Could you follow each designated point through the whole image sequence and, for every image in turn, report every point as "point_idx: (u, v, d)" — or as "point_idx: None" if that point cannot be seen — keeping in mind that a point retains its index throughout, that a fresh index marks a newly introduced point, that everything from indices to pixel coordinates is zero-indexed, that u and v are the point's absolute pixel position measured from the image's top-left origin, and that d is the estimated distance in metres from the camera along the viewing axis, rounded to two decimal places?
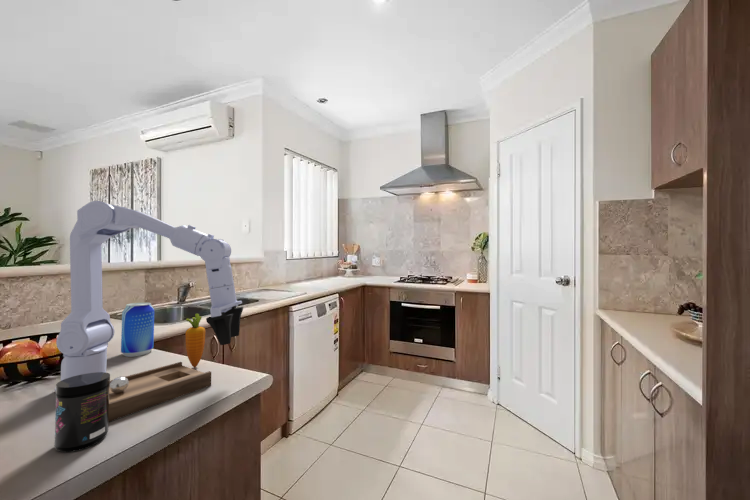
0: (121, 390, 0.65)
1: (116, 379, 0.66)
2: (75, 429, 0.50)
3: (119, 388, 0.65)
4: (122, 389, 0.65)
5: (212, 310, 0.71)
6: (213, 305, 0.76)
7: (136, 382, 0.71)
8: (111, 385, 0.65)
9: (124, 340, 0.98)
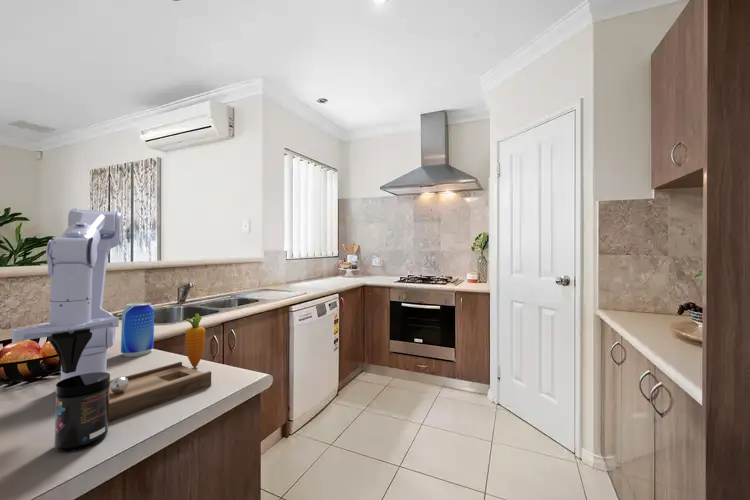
0: (121, 390, 0.65)
1: (116, 379, 0.66)
2: (75, 429, 0.50)
3: (119, 388, 0.65)
4: (122, 389, 0.65)
5: (12, 332, 0.54)
6: None
7: (136, 382, 0.71)
8: (111, 385, 0.65)
9: (124, 340, 0.98)
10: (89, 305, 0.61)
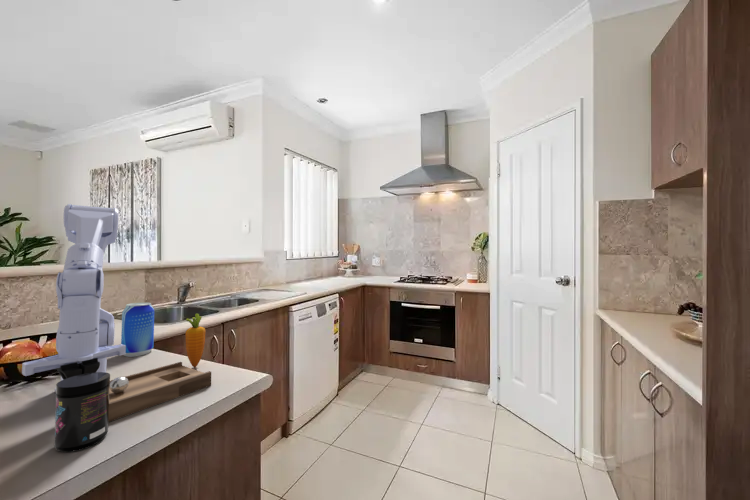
0: (121, 390, 0.65)
1: (116, 379, 0.66)
2: (76, 429, 0.50)
3: (119, 388, 0.65)
4: (122, 389, 0.65)
5: (22, 365, 0.55)
6: None
7: (136, 382, 0.71)
8: (111, 385, 0.65)
9: (124, 340, 0.98)
10: (97, 335, 0.62)
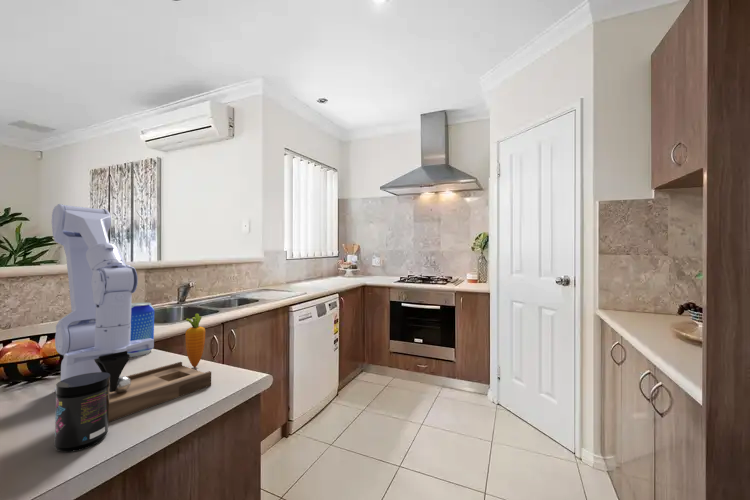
0: (122, 390, 0.66)
1: (120, 378, 0.66)
2: (76, 429, 0.50)
3: (121, 388, 0.65)
4: (123, 389, 0.66)
5: (64, 356, 0.59)
6: None
7: (136, 382, 0.71)
8: None
9: None
10: (129, 329, 0.66)
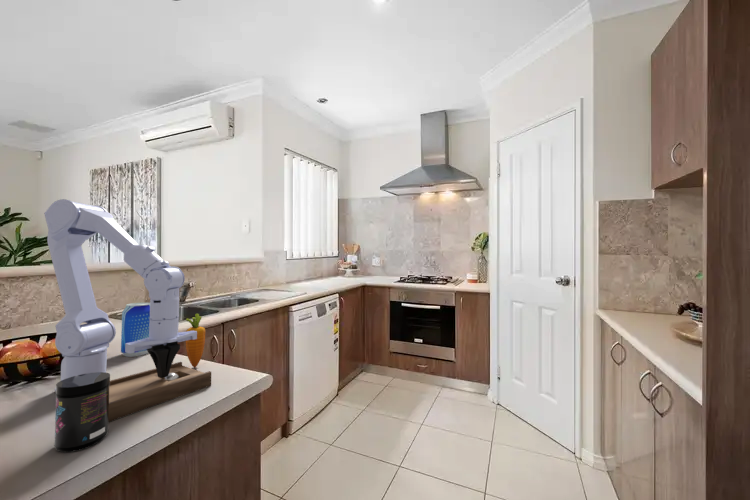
0: None
1: (165, 378, 0.74)
2: (75, 429, 0.50)
3: None
4: None
5: (126, 345, 0.68)
6: None
7: (136, 382, 0.71)
8: None
9: (124, 340, 0.98)
10: (178, 322, 0.75)
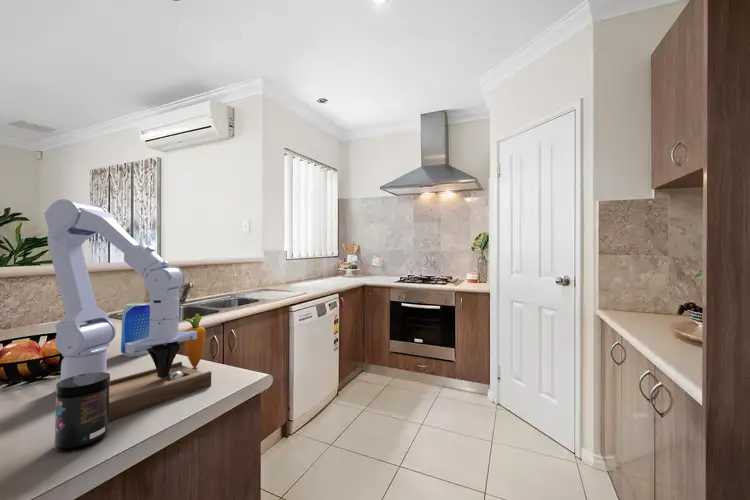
0: None
1: (175, 372, 0.76)
2: (75, 429, 0.50)
3: None
4: None
5: (126, 345, 0.68)
6: None
7: (136, 382, 0.71)
8: (171, 376, 0.75)
9: (124, 340, 0.98)
10: (178, 322, 0.75)
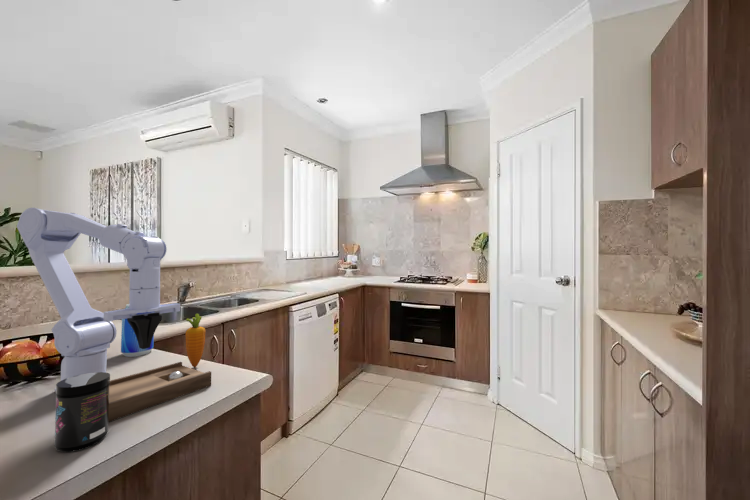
0: None
1: (173, 372, 0.76)
2: (76, 429, 0.50)
3: None
4: None
5: (104, 313, 0.66)
6: None
7: (136, 382, 0.71)
8: (170, 377, 0.75)
9: (124, 340, 0.98)
10: (159, 292, 0.73)
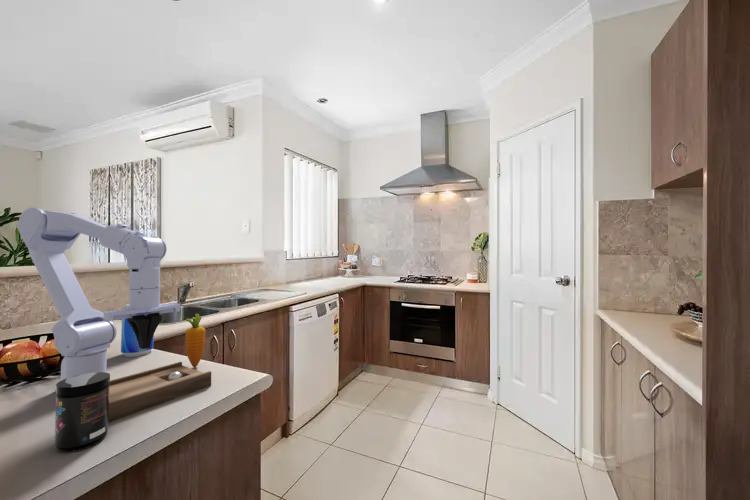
0: None
1: (172, 373, 0.76)
2: (75, 429, 0.50)
3: None
4: None
5: (104, 313, 0.66)
6: None
7: (136, 382, 0.71)
8: (169, 378, 0.75)
9: (124, 340, 0.98)
10: (159, 292, 0.73)
